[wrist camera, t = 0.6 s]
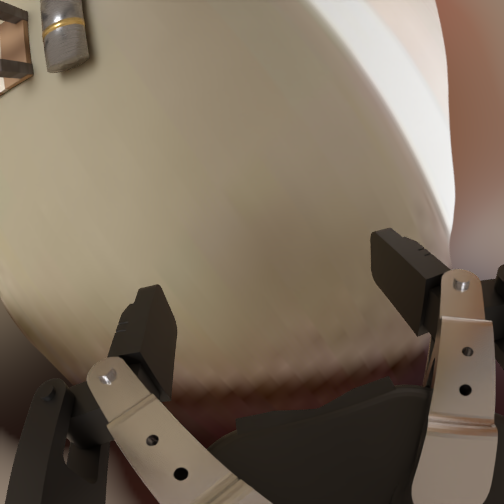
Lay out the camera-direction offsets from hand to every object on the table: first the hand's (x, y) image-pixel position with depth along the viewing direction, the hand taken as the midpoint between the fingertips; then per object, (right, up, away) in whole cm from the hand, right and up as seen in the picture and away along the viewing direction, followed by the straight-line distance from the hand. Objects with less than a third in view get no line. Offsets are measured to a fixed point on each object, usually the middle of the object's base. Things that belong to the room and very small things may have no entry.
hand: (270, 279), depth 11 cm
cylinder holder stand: (-33, +26, +12) cm, 44 cm away
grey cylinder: (-22, +27, +13) cm, 37 cm away
